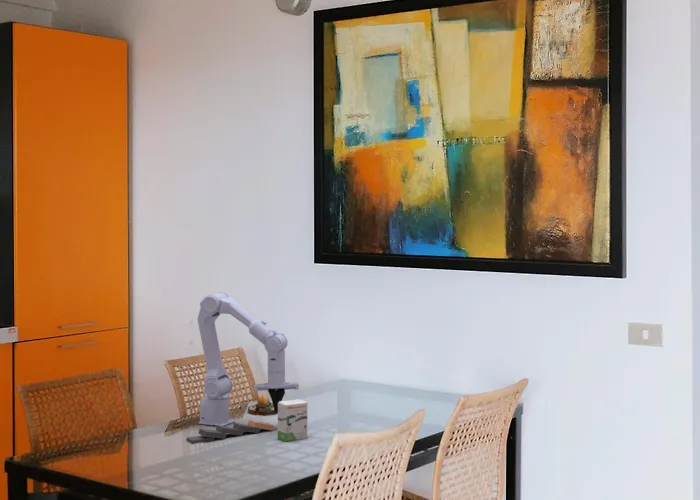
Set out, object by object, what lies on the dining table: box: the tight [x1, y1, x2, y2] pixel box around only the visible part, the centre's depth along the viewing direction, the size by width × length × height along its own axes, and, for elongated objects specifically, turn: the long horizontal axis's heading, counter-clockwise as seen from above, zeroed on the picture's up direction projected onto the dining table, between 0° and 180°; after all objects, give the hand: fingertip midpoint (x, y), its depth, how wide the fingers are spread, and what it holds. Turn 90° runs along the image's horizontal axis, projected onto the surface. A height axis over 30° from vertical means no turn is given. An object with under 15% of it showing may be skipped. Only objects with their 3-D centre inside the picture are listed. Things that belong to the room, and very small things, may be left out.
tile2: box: [232, 422, 261, 434], centre depth 305 cm, size 2×4×8 cm
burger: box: [247, 394, 278, 416], centre depth 336 cm, size 12×12×8 cm
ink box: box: [277, 398, 308, 442], centre depth 299 cm, size 9×5×12 cm, turn 123°
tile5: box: [185, 435, 215, 445], centre depth 296 cm, size 2×4×8 cm
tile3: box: [215, 425, 244, 436], centre depth 302 cm, size 2×4×8 cm
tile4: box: [198, 428, 227, 440], centre depth 297 cm, size 2×4×8 cm
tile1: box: [247, 419, 275, 431], centre depth 308 cm, size 2×4×8 cm
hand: (276, 411), depth 311 cm, fingers closed
